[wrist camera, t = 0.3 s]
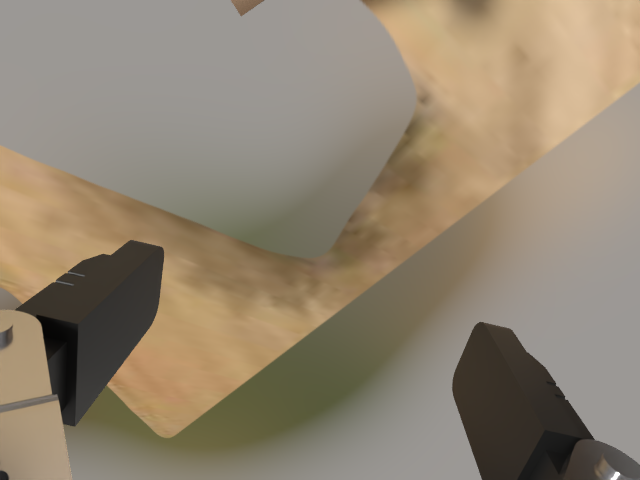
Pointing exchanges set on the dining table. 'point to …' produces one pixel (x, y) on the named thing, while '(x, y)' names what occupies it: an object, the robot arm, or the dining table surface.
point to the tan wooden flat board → (245, 5)
